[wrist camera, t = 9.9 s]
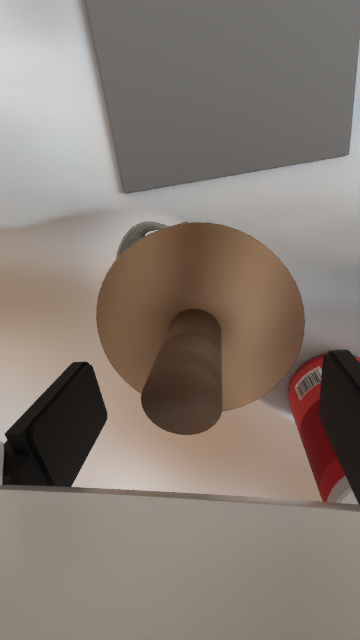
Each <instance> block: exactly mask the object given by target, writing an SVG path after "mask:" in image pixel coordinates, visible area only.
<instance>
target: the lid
mask: <svg viewBox="0 0 360 640" xmlns="http://www.w3.org/2000/svg"><path fill="white" fill-rule="evenodd" d="M96 320H97V328H98V333H99V337H100V341H101V344H102V347H103V349H104V351H105V354H106V356H107V357H108V359H109V361H110V363H111V364H112V366H113V367H114V368H115V370H116V371H117V372H118V374H119V375H120V376H121V377H122V378H123V379H124V380H125V381H126V382H127V383H128V384H129V385H130V386H131V387H133V389H135V390H136V391H138V392H139V393H141V403H142V407H143V410H144V411H145V413H146V415H147V416H148V418H149V419H150V420H151V421H152V422H153V423H154V424H156V425H157V426H159V427H160V428H162V429H164V430H166V431H169V432H172V433H175V434H181V435H192V434H198V433H201V432H204V431H206V430H208V429H209V428H211V427H212V426H213V425H214V424H215V423H216V422H217V421H218V419H219V418H220V415H221V413H222V411H227V410H232V409H235V408H239V407H242V406H244V405H247V404H249V403H251V402H254V401H255V400H257V399H259V398H260V397H262V396H264V395H265V394H267V393H268V392H269V391H271V390H272V389H273V388H274V387H275V386H276V385H277V384H278V383H279V382H280V381H281V380H282V379H283V378H284V377H285V376H286V374H287V373H288V372H289V370H290V369H291V367H292V365H293V364H294V362H295V360H296V358H297V356H298V353H299V351H300V348H301V344H302V340H303V336H304V324H305V320H304V308H303V304H302V299H301V295H300V293H299V290H298V288H297V285H296V283H295V281H294V279H293V277H292V276H291V274H290V272H289V271H288V269H287V268H286V267H285V266H284V264H283V263H282V262H281V261H280V259H279V258H278V257H277V256H276V255H275V254H273V253H272V252H271V251H270V250H269V249H268V248H267V247H266V246H264V245H263V244H262V243H260V242H259V241H257V240H256V239H254V238H253V237H251V236H249V235H247V234H245V233H243V232H241V231H239V230H237V229H233V228H230V227H227V226H224V225H219V224H213V223H196V222H193V223H184V224H178V225H174V226H170V227H166V228H163V229H161V230H158V231H156V232H154V233H151V234H149V235H147V236H145V237H143V238H142V239H140V240H138V241H137V242H135V243H134V244H133V245H131V246H130V247H129V248H128V249H126V250H125V251H124V252H123V253H122V254H121V255H120V256H119V258H118V259H117V260H116V261H115V262H114V264H113V265H112V267H111V268H110V270H109V271H108V273H107V275H106V277H105V279H104V281H103V283H102V286H101V289H100V293H99V296H98V302H97V319H96Z"/></svg>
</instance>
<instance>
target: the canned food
mask: <svg viewBox="0 0 360 640" xmlns="http://www.w3.org/2000/svg"><path fill="white" fill-rule="evenodd" d="M326 355H328V354H326ZM323 356H324V355H321V356H318V357H316V358H313V359H311V360H310V361H308V362H306V363H305V364H304V365H302V366H301V367H300V368H299V369H298V370H297V371H296V373H295V374H294V375H293V377H292V379H291V382H290V385H289V394H288V400H289V405H290V408H291V411H292V414H293V416H294V419H295V422H296V425H297V428H298V431H299V434H300V437H301V440H302V443H303V446H304V448H305V451H306V454H307V457H308V460H309V463H310V466H311V469H312V472H313V475H314V478H315V480H316V483H317V486H318V489H319V492H320V495H321V498H322V500H323V502H334V503H347V504H358V502H357V500H356V497H355V495H354V493H353V491H352V489H351V487H350V484H349V482H348V480H347V478H346V476H345V474H344V472H343V469H342V467H341V465H340V463H339V461H338V459H337V456H336V454H335V452H334V450H333V448H332V446H331V443H330V441H329V439H328V437H327V435H326V433H325V430H324V428H323V426H322V424H321V422H320V419H319V399H320V387H321V375H322V363H323ZM354 357H355V358H356V359H357V361H358V362H359V363H360V358H358V357H356V356H354Z"/></svg>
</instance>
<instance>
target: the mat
mask: <svg viewBox="0 0 360 640" xmlns="http://www.w3.org/2000/svg"><path fill="white" fill-rule="evenodd" d="M86 4H87V9H88V14H89V19H90V24H91V29H92V34H93V39H94V44H95V49H96V54H97V59H98V64H99V69H100V74H101V79H102V84H103V89H104V94H105V99H106V104H107V109H108V114H109V119H110V124H111V129H112V134H113V139H114V144H115V149H116V154H117V159H118V164H119V169H120V174H121V179H122V184H123V189H124V193H133V192H139V191H145V190H150V189H156V188H162V187H168V186H174V185H179V184H185V183H191V182H197V181H203V180H208V179H214V178H220V177H226V176H231V175H237V174H243V173H249V172H255V171H260V170H266V169H272V168H278V167H284V166H289V165H295V164H301V163H307V162H313V161H318V160H324V159H330V158H336V157H342V156H346V155H348V154H349V146H350V136H351V125H352V114H353V104H354V93H355V82H356V72H357V61H358V50H359V40H360V0H86Z"/></svg>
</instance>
